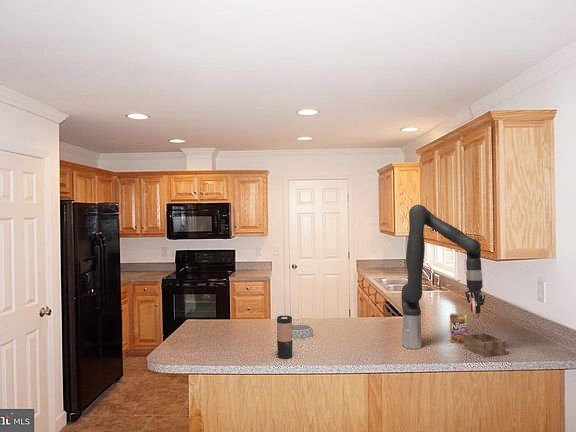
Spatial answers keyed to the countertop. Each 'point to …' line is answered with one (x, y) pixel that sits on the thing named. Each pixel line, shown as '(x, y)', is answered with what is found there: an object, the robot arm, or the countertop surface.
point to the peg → (474, 309)
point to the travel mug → (284, 337)
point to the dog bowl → (301, 331)
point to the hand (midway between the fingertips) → (475, 312)
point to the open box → (484, 345)
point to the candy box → (458, 327)
